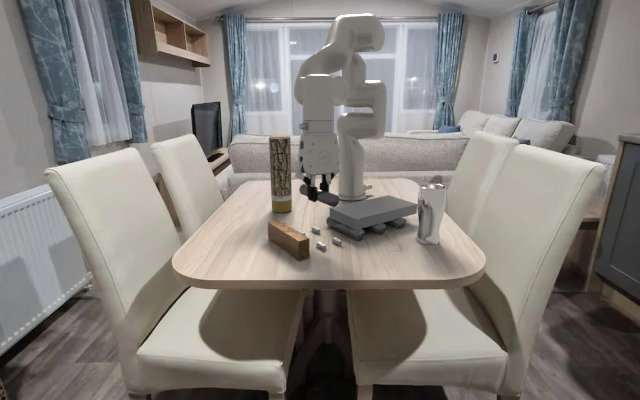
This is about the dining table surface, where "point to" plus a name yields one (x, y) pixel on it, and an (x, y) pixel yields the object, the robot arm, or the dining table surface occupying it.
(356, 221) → the slab
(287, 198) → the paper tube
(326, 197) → the roller
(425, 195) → the beer glass
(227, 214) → the dining table surface
